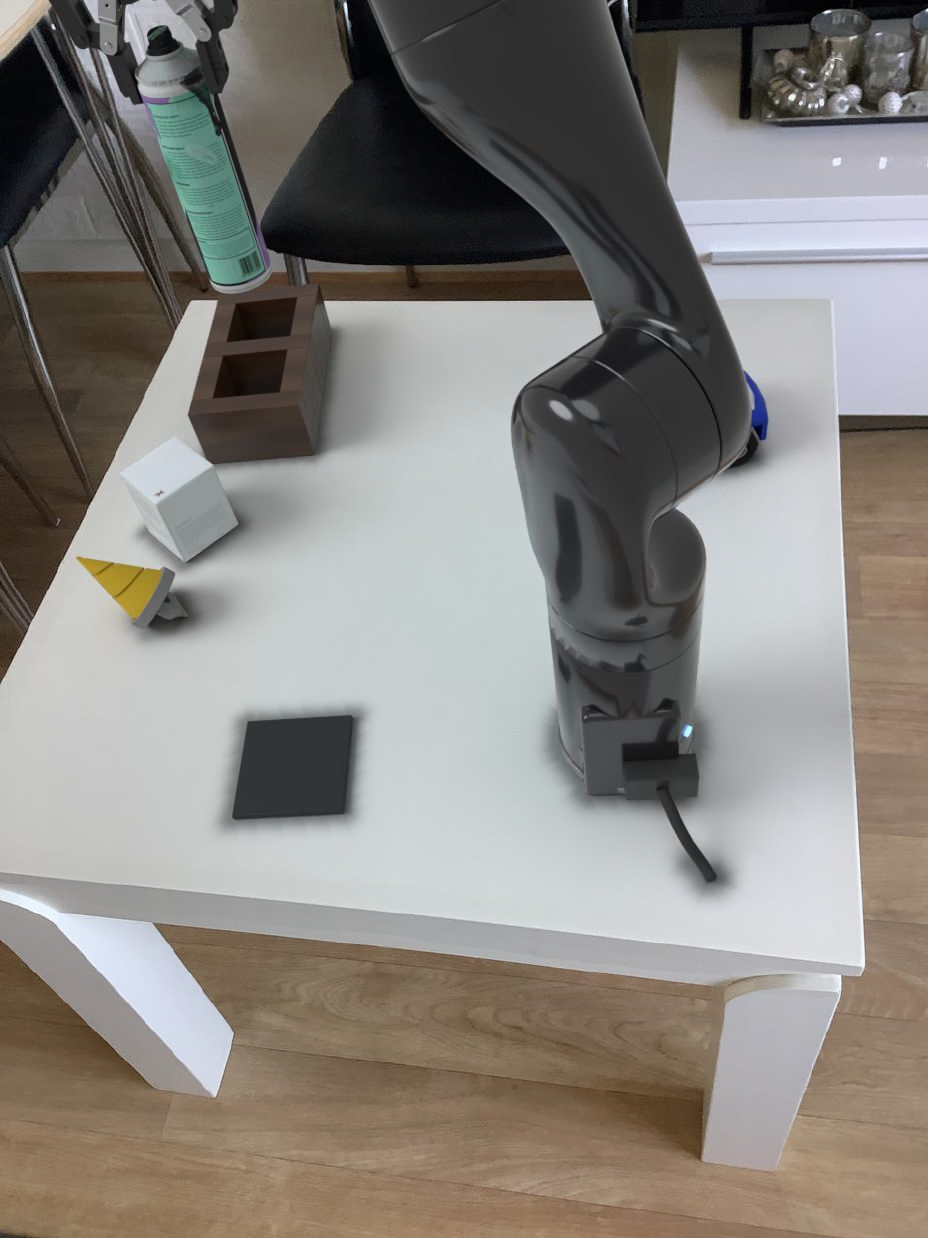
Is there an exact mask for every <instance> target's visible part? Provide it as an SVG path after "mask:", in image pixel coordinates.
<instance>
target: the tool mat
mask: <svg viewBox="0 0 928 1238" xmlns="http://www.w3.org/2000/svg"><path fill="white" fill-rule="evenodd" d="M353 719H354V718H353V716H352V714H346V715H331V716H330V715H329V716H309V717H296V718H295V717H294V718H280V719H279V718H277V719H263V720H247V724H246V729H245V736H244V741H243V748H242V753H241V759H240V765H239V772H238V778H237V784H236V790H235V794H234V800H233V808H232V812H231V813H232V814H231V818H232V819H233V820H241V819H243V820H244V819H260V818H261V819H262V818H283V817H304V816H322V815H341V814H342V815H343V814H345V805H346V793H347V782H348V774H349V772H348V771H349V761H350V751H351V739H352V728H353Z"/></svg>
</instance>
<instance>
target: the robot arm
mask: <svg viewBox="0 0 928 1238" xmlns="http://www.w3.org/2000/svg"><path fill="white" fill-rule="evenodd" d="M139 1H140V0H97V18H98V20H99V22H96V21H95V19H94V17H93V15H92V13H91V12H90V10H89V8H88V6H87V4H86V2H85V1H84V0H48V2H49V4H50V5H51V7H52V9H53V11H54V12H55V14H56V15H57V18H58V19H59V21H60V22H61V24H62V26H63V28H64V29H65V31H66V33H67V34H68V36H69V38H70V39H71V42H72V43H73V44H74V46H75V47H76V48H77V49H80V50H87V49H89V48H90V49H94V50H98V51H100V52H101V53H103V54H104V55H105V57H106V59H107V61H108V64H109V67H110V69H111V72H112V74H113V77H114V79H115V82H116V84H117V87H118V90H119V92H120V93H121V95H122V96H123V97H124V98H129V99H130V103H131V104H132V105H133V106H137V105H144V102H143V100H142V97H141V94H140V92H139V89H138V85H137V83H138V81H137V79H136V77H135V70H136V68H137V67H138V66H139V63H138V61H137V57H136V55H135V53H134V49H133V47H132V44H131V41H126V40H125V37H126V31H125V30H126V9H127V5H133V4H135V3H138V2H139ZM153 1H154V2H155V1H156V0H153ZM164 1H165V3H166V4H167V6H169V8H170V9H171V11H172V12H173V13H174V15H176V16H179V17H180V18H181V20H183V22H184V23H185V25H186V26H187V27H188V28H189V30H190V32H192V34H193V35H194V37H195V38H196V41H195V44H194V46H195V48H196V49H195V50H197V52H198V55H199V58H200V61H201V65H202V68H203V71H204V74H205V77H206V80H207V83H208V86H209V89H210V92H211V94H218V95H221V94H222V93H223V90H224V88H225V85H226V84H227V81H228V79H229V77H230V76H229V75H230V65H229V62H228V60H227V57H226V53H225V49H224V47H223V44H222V40H221V37H220V32H221V31H223V30H229V29H230V28H232V26H233V24H234V21H235V17H236V15H237V14H238V11H239V1H238V0H212V2H213V6H212V7H210V5H209V4H208V2H207V1H206V0H164ZM367 2H368V5H369V8H370V11H371V12H372V14H373V17H374V19H375V22H376V25H377V27H378V29H379V32H380V33H381V36H382V39H383V42H384V44H385V46H386V49H387V51H388V54H389V55H390V56H391V57H390V58H391V61H392V63H393V65H394V68H395V71H396V72H397V74H398V76H399V79H400V81H401V83H402V85H403V87H404V89H405V90H406V93H407V94H408V96H409V97H410V99H411V100H412V102H413V103H414V104H415V105H416V107H417V108H418V109H419V111H420V112H421V113H422V114H423V115H424V116H425V117H426V118H427V119H428V121H430V123H431V124H433V126H434V127H435V128H436V129H437V130H438V131H440V133H441V134H443V135H444V137H446V138H447V139H449V141H450V142H452V143H453V144H454V145H455V146H456V147H457V148H459V149H460V150H461V151H462V152H463V153H464V154H466V155H467V156H468V157H470V158H471V159H472V160H473V161H475V162H476V163H477V164H479V166H481V168H483V169H485V170H486V171H487V172H488V173H489V174H490V175H492V176H494V177H495V178H496V179H497V180H498V181H500V182H501V183H502V184H503V185H505V186H507V187H508V188H509V189H510V190H511V191H513V192H514V193H515V194H517V195H518V196H519V197H520V198H522V199H523V200H524V202H526V203H527V204H528V205H530V206H531V207H532V208H533V209H535V211H537V212H538V213H539V214H540V215H541V216H542V218H544V220H545V221H546V222H547V223H548V224H549V225H550V226H551V227H552V228H553V230H554V231H555V232H556V233H557V234H558V236H559V237H560V238H561V240H562V242H563V243H564V245H565V246H566V248H567V249H568V251H569V252H570V255H571V256H572V258H573V260H574V262H575V265H576V266H577V268H578V270H579V272H580V274H581V276H582V278H583V280H584V283H585V285H586V287H587V290H588V293H589V294H590V297H591V299H592V302H593V304H594V308H595V310H596V314H597V316H598V321H599V323H600V327H601V334H599V335H598V336H596V337H594V338H593V339H591V340H590V341H588V342H587V343H585V344H584V345H582V346H581V347H579V348H577V349H576V350H574V351H573V352H571V353H569V354H568V355H567V356H565V357H564V358H562V359H561V360H559V361H558V362H556V363H555V364H553V365H552V366H549V368H547V369H546V370H544V371H542V372H541V373H540V374H538V375H536V376H535V377H533V378H532V379H530V380H529V381H528V382H527V383H526V384H525V385H523V387H522V388H521V389H520V390H519V392H518V393H517V395H516V398H515V400H514V403H513V406H512V410H511V416H510V437H511V438H510V441H511V448H512V449H511V450H512V454H513V460H514V466H515V470H516V471H515V472H516V477H517V481H518V485H519V490H520V495H521V496H520V497H521V502H522V506H523V513H524V518H525V525H526V530H527V535H528V538H529V542H530V543H529V544H530V545H531V549H532V551H533V553H534V557H535V559H536V561H537V564H538V567H539V568H540V571H541V573H542V577H543V578H544V586H545V595H546V605H547V615H548V616H547V618H548V629H549V638H550V647H551V656H552V668H553V677H554V688H555V698H556V706H557V715H558V723H559V724H558V738H559V746H560V751H561V753H562V756H563V758H564V760H565V762H566V764H567V765H568V766H569V768H570V769H571V770H572V771H573V772H574V774H576V776H578V778H580V779H582V780H583V782H584V788H585V793H586V794H587V795H589V796H595V795H596V796H597V795H615V794H619V795H621V794H622V795H623V794H624V799H625V802H628V801H629V802H630V801H647V800H650V801H651V800H659V801H660V803H661V805H662V808H663V810H664V812H665V814H666V816H667V819H668V821H669V824H670V825H671V827H672V830H673V831H674V833H675V836H676V837H677V839H678V841H679V843H680V844H681V846H682V848H683V849H684V851H685V852H686V854H687V855H688V856H689V858H690V859H691V860H692V861H693V863H694V864H695V866H696V867H697V869H698V870H699V872H700V873H701V875H702V877H703V879H704V881H705V883H707V884H710V883H712V882H714V881H716V880H717V879H718V874H717V873H716V871H715V870H714V868H713V866H712V865H711V863H710V862H709V860H708V859H707V857H706V856H705V854H704V853H703V852H702V851H701V849H700V848H699V847H698V845H697V844H696V843H695V841H694V839H693V838H692V836H691V834H690V832H689V830H688V828H687V826H686V824H685V823H684V821H683V819H682V816H681V814H680V812H679V809H678V808H677V806H676V803H675V800H674V799H688V798H690V799H691V798H697V797H698V796H699V795H698V794H699V786H700V771H699V766H698V757H697V753H695V752H694V753H693V749H694V741H695V723H694V722H695V712H696V711H695V710H696V698H697V684H698V674H699V673H698V672H699V662H700V661H699V660H700V649H701V637H702V624H703V616H704V605H705V603H704V602H705V593H706V580H707V569H708V567H707V566H708V565H707V561H708V558H707V550H706V546H705V541H704V539H703V537H702V534H701V533H700V530H699V529H698V528H697V526H696V525H695V524H694V522H693V521H692V520H691V519H690V518H689V517H688V516H687V515H686V514H685V513H683V512H682V511H680V510H679V509H678V507H679V506H680V505H681V504H682V503H684V502H685V501H687V500H688V499H689V498H691V497H692V496H693V495H695V494H696V493H697V492H699V491H700V490H701V489H702V488H704V487H705V486H706V485H707V484H709V483H711V482H712V481H714V479H716V478H717V477H718V476H719V475H720V474H722V473H723V472H724V471H725V470H727V469H728V468H730V467H729V466H730V465H731V464H732V463H733V462H734V461H735V460H736V459H737V458H738V457H739V455H740V454H741V453H742V452H743V450H744V449H745V446H746V444H747V442H748V440H749V437H750V433H751V431H752V427H751V425H752V408H751V402H750V395H749V389H748V385H747V381H746V377H745V374H744V371H745V370H744V368H743V365H742V361H741V359H740V356H739V352H738V350H737V348H736V345H735V342H734V340H733V338H732V335H731V332H730V330H729V328H728V326H727V323H726V320H725V318H724V316H723V313H722V311H721V309H720V306H719V304H718V301H717V299H716V297H715V295H714V292H713V290H712V287H711V285H710V283H709V280H708V277H707V276H706V273H705V271H704V269H703V267H702V264H701V262H700V259H699V257H698V254H697V252H696V250H695V247H694V245H693V243H692V240H691V239H690V236H689V232H688V231H687V229H686V227H685V224H684V221H683V219H682V217H681V214H680V212H679V209H678V207H677V205H676V203H675V200H674V197H673V195H672V192H671V190H670V187H669V185H668V182H667V179H666V176H665V174H664V171H663V168H662V165H661V162H660V160H659V156H658V153H657V150H656V148H655V145H654V142H653V139H652V136H651V134H650V130H649V128H648V124H647V122H646V118H645V116H644V113H643V110H642V107H641V104H640V102H639V99H638V95H637V92H636V90H635V86H634V84H633V81H632V78H631V74H630V71H629V68H628V66H627V62H626V59H625V57H624V54H623V50H622V48H621V44H620V41H619V38H618V35H617V32H616V28H615V26H614V21H613V18H612V15H611V11H610V8H609V5H608V0H367ZM743 370H744V371H743Z"/></svg>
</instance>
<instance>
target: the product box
mask: <svg viewBox="0 0 928 1238" xmlns="http://www.w3.org/2000/svg"><path fill="white" fill-rule="evenodd" d="M119 476H120V479H121V480H122V482H123V485H124V486H125V488H126V490H127V492H128V493H129V495H130V497H131V499H132V501H133V503H134V505H135V507H136V509H137V510H138V512H139V514H140V516H141V518H142V520H143V522H144V523H145V525H146V528H147V530H148V532H149V533H150V534H151V535H152V536H153V537H154V538H155V539H157V540H158V541H159V542H160V543H161V544H162V545H163V546H165V547H166V548H167V549H168V550H169V551H170V552H172V553H173V555H175V557H178V559H180V560H181V561H182V562H183V563H187V562H188V561H190V560H191V559H193V558H194V557H196V556H197V555H198V554H200V553H201V552H203V551H204V550H205V549H207V548H208V547H210V546H211V545H213V544H214V543H215V542H216V541H218V540H219V539H221V538H222V537H223V536H225V535H227V534H228V533H230V532H231V531H232V530H234V529H235V528H236V527H237V526H238V525H239V521H238V520H237V517H236V515H235V512H234V510H233V508H232V505H231V503H230V501H229V498H228V497H227V496H228V495H227V494H226V492H225V489H224V487H223V484H222V481H221V480H220V478H219V477H220V476H219V475H218V473H217V470H216V467H215V465H214V464H212V463H210V462H209V461H208V460H207V459H206V457H205V456H202V454H200V453H199V452H198V451H197V450H195V449H194V448H193V447H191V446H190V445H189V444H188V443H186V442H185V441H183V440H182V439H181V438H180V437H178V436H177V435H174V436H173V437H171V438H170V439H168V440H166V441H165V442H163V443H161V444H160V445H158V446H157V447H156V448H154V449H153V450H151V451H150V452H148V453H147V454H146V455H144V456H143V457H141V458H140V459H138V460H137V461H135V462H133V463H132V464H130V465H129V466H128V467H126V468H124V469H123V470H122V471H120V472H119Z"/></svg>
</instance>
